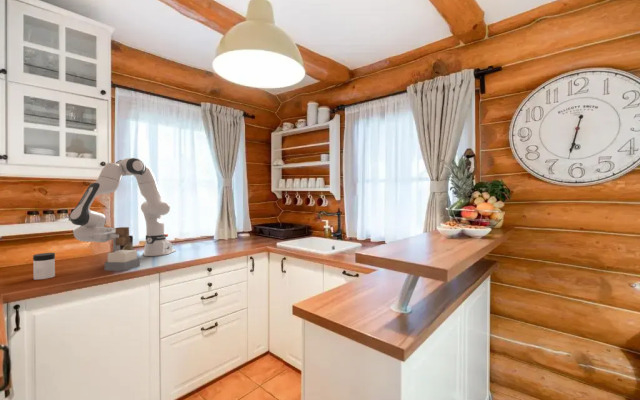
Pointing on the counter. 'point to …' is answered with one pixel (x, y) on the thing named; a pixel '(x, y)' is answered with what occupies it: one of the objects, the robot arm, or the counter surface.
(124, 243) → the walnut block
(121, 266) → the tower base
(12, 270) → the counter surface
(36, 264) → the jar
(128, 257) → the tower top
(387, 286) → the counter surface
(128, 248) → the coffee box
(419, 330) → the counter surface
